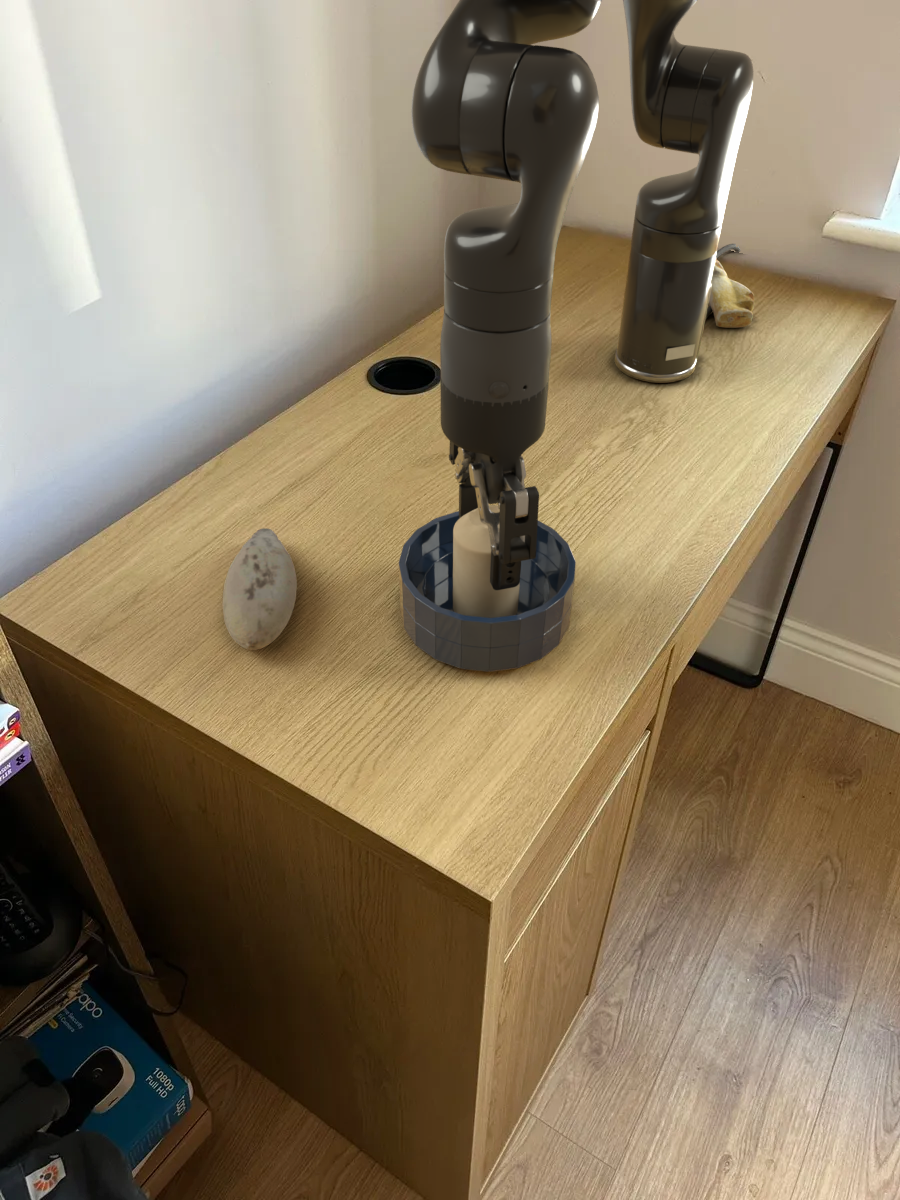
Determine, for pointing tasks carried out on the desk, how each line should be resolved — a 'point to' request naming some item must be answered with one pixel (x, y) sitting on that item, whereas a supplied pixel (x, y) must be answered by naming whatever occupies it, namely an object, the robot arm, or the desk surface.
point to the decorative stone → (259, 591)
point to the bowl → (483, 637)
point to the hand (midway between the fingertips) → (487, 551)
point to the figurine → (730, 300)
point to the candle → (477, 571)
